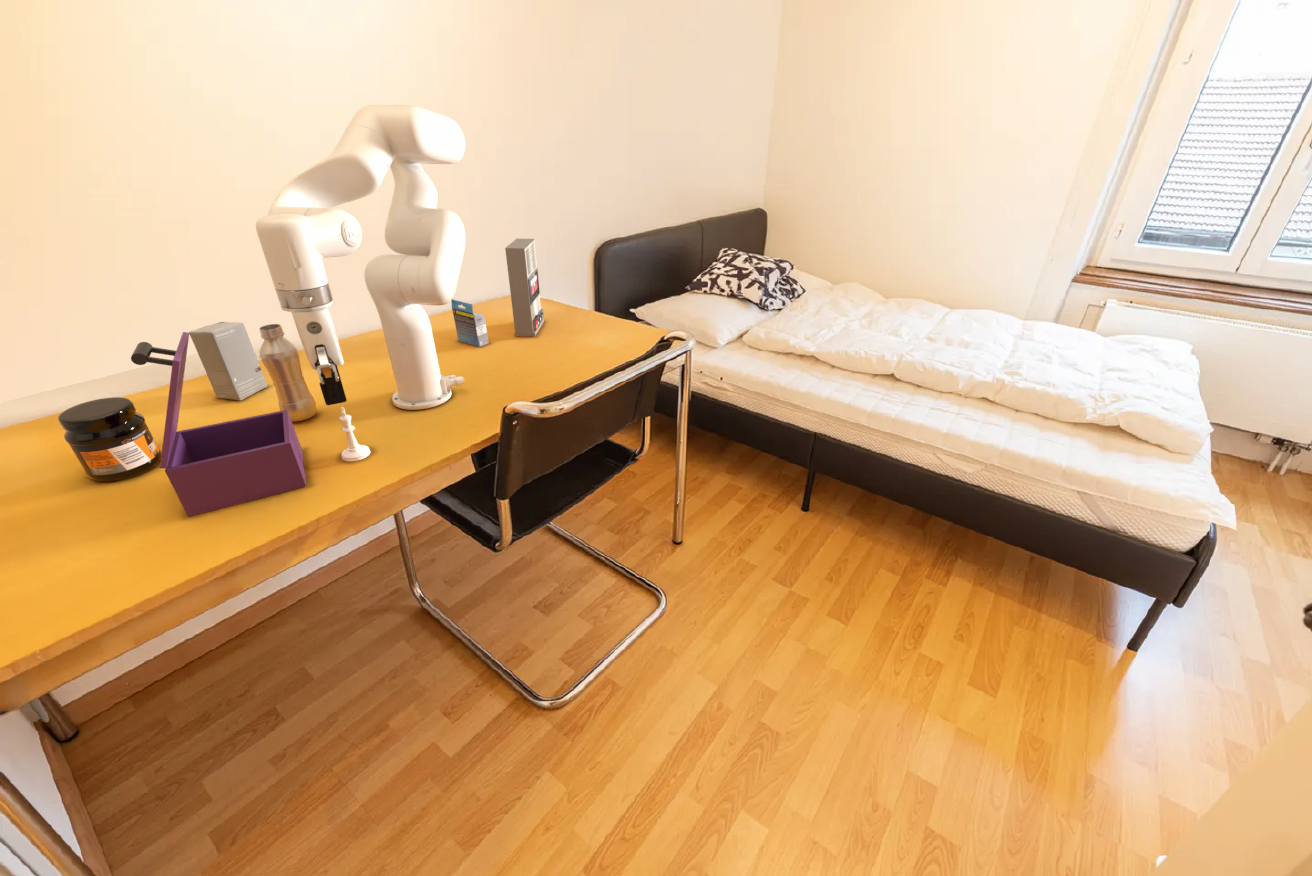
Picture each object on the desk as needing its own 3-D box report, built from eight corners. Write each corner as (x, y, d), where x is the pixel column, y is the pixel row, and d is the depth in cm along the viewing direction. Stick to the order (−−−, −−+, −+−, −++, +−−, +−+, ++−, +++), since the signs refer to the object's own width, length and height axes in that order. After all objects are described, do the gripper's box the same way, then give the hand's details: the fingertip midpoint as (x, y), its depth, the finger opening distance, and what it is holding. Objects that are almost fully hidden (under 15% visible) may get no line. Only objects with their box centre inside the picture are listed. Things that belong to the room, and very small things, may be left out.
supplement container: (148, 479, 98) (116, 418, 92) (75, 488, 96) (37, 427, 90) (174, 449, 107) (146, 392, 101) (108, 457, 104) (75, 399, 98)
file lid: (189, 332, 90) (142, 324, 87) (180, 361, 80) (126, 353, 77) (177, 429, 95) (132, 425, 92) (166, 468, 85) (116, 465, 81)
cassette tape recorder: (536, 337, 163) (527, 248, 150) (515, 336, 163) (504, 248, 150) (544, 322, 175) (537, 238, 162) (525, 321, 175) (516, 238, 162)
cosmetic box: (240, 401, 125) (213, 333, 117) (213, 398, 126) (184, 331, 118) (270, 386, 132) (246, 321, 124) (244, 383, 133) (219, 319, 125)
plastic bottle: (326, 413, 120) (297, 323, 110) (300, 427, 115) (267, 334, 105) (303, 408, 122) (273, 319, 112) (276, 422, 117) (241, 330, 107)
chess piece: (342, 464, 103) (326, 416, 98) (341, 451, 107) (326, 404, 102) (371, 457, 105) (357, 410, 100) (369, 445, 109) (356, 399, 104)
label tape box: (489, 343, 158) (483, 300, 152) (478, 347, 155) (471, 304, 149) (468, 337, 162) (461, 295, 156) (457, 341, 159) (449, 298, 153)
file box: (302, 450, 107) (287, 409, 103) (306, 486, 97) (290, 442, 92) (195, 474, 100) (175, 431, 95) (188, 516, 89) (164, 470, 85)
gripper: (336, 306, 86) (363, 406, 94) (327, 282, 99) (351, 372, 107) (279, 313, 82) (313, 416, 91) (277, 287, 95) (307, 380, 104)
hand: (334, 392), depth 99 cm, fingers open, 9 cm apart
